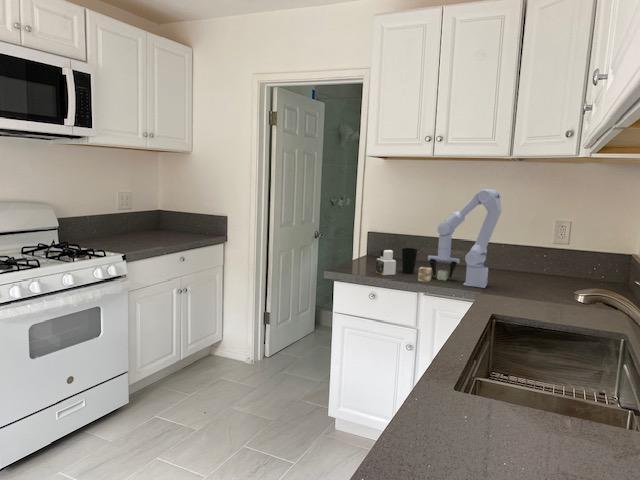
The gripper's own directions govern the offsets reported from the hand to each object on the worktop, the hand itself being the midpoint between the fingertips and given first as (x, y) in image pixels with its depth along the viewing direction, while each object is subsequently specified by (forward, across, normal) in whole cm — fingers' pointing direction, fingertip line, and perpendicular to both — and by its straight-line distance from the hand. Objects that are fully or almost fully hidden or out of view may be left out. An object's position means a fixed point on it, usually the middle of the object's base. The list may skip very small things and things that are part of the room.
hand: (442, 276), depth 228 cm
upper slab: (-1, +7, +8) cm, 10 cm away
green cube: (+2, 0, 0) cm, 2 cm away
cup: (+2, +18, -5) cm, 19 cm away
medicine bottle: (+2, +27, +4) cm, 27 cm away
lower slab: (+2, +7, +8) cm, 10 cm away
